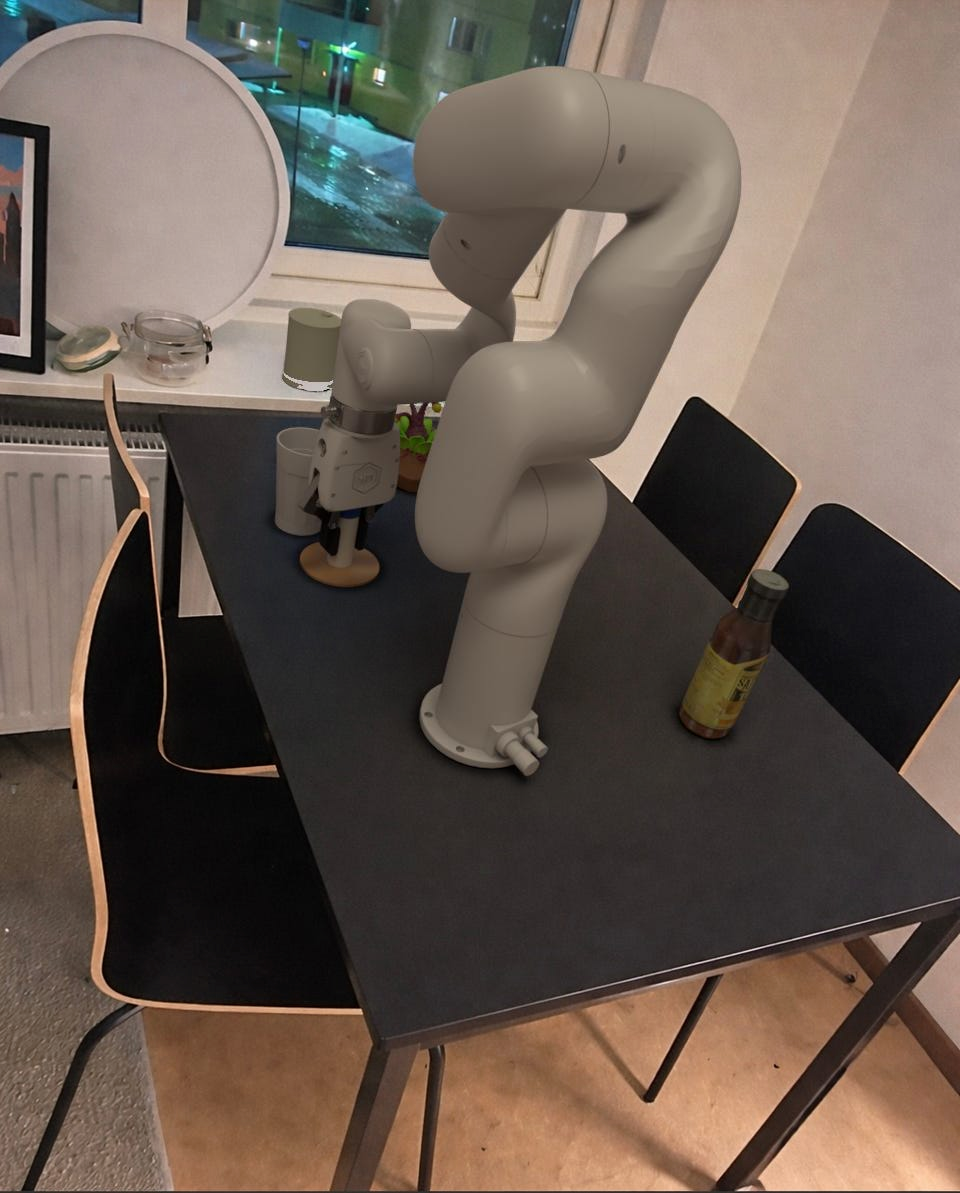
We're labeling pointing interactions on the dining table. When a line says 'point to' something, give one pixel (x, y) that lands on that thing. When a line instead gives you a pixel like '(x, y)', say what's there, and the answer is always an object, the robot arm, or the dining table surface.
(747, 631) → the sauce bottle
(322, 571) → the coaster
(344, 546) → the marker
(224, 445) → the dining table surface
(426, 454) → the plant
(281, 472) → the cup
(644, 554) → the dining table surface
